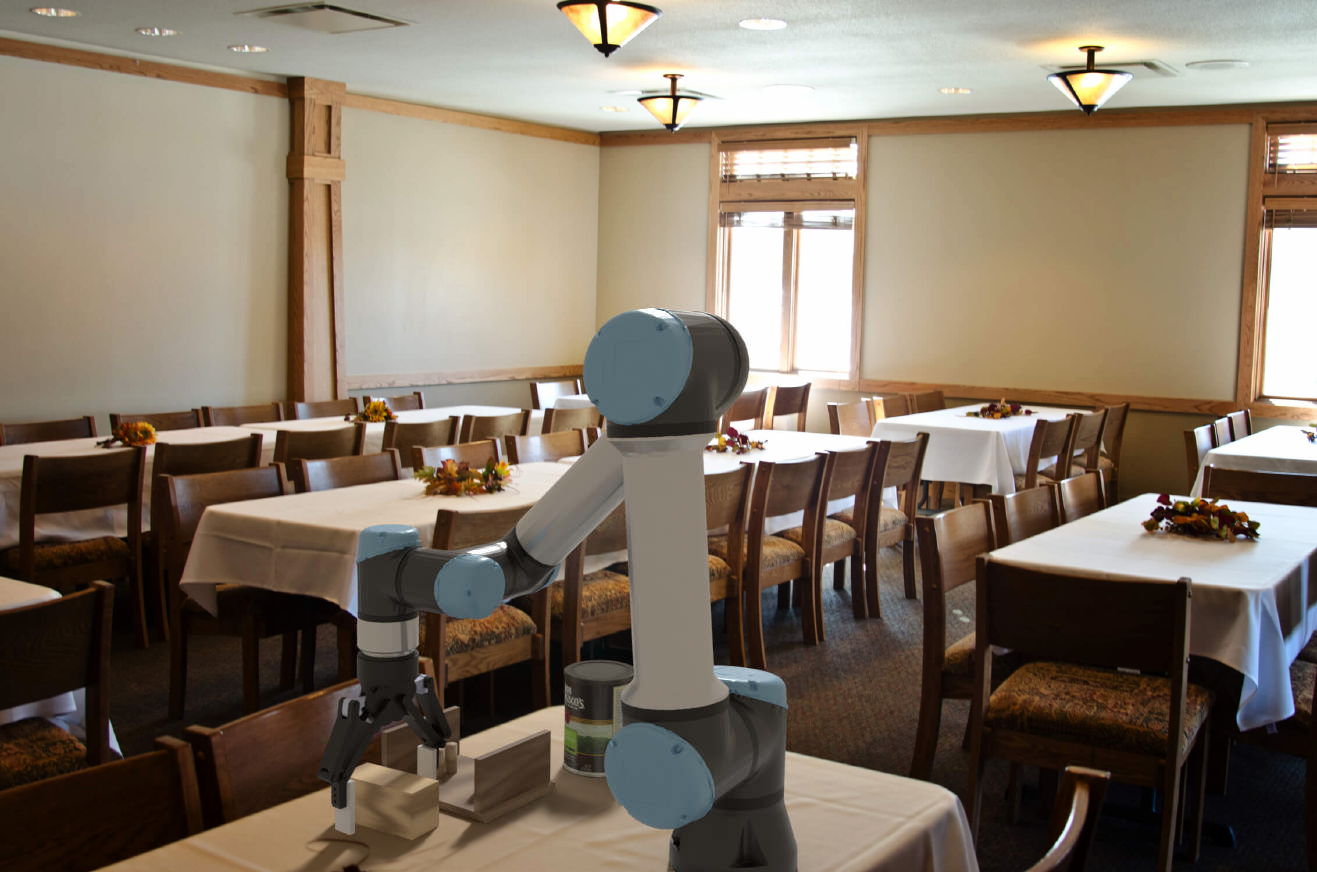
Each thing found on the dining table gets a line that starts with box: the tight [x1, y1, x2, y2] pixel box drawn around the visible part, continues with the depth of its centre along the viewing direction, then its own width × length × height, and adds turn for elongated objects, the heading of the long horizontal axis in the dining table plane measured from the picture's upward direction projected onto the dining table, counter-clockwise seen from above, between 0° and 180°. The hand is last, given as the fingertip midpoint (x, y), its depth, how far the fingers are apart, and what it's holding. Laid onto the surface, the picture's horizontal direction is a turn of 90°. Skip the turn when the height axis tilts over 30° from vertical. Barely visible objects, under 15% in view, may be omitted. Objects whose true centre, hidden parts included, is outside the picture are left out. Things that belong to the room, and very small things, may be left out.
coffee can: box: [562, 659, 634, 778], centre depth 170 cm, size 10×10×14 cm
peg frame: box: [381, 705, 557, 824], centre depth 160 cm, size 20×14×8 cm
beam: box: [350, 762, 440, 841], centre depth 149 cm, size 12×5×6 cm, turn 61°
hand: (387, 813), depth 149 cm, fingers open, 13 cm apart
